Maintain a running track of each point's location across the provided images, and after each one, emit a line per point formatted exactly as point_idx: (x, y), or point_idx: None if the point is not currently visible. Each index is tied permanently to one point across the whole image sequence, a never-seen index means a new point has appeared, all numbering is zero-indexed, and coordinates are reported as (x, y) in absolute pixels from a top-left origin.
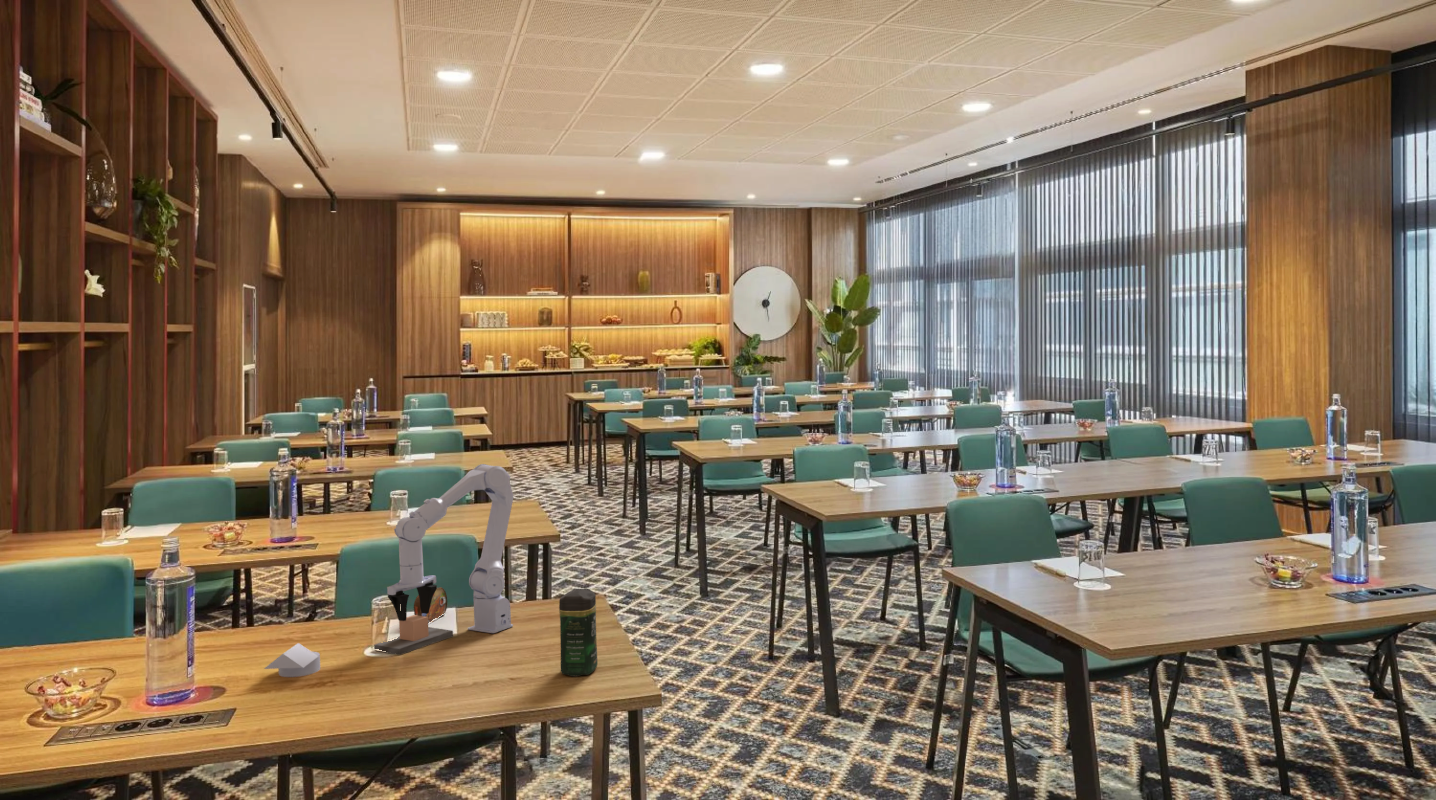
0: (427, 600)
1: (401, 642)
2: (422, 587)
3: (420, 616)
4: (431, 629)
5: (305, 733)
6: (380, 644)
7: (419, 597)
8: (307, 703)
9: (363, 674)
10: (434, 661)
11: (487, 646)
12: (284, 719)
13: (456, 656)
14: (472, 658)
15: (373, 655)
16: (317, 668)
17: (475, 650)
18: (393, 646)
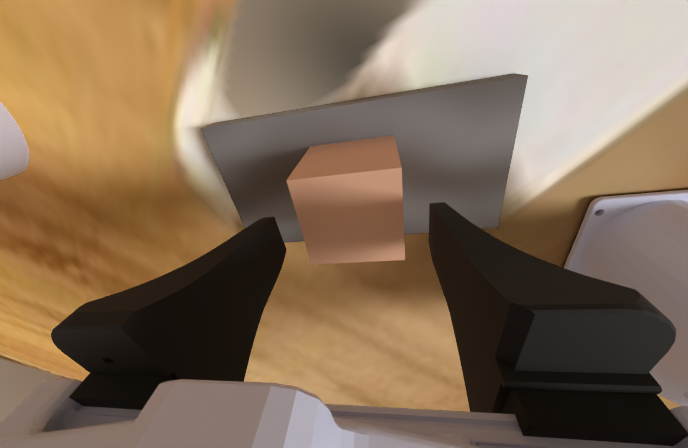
0: (451, 303)
1: (289, 194)
2: (490, 379)
3: (392, 226)
4: (486, 136)
5: (60, 369)
6: (221, 150)
7: (462, 249)
8: (43, 312)
9: (144, 277)
10: (295, 322)
11: (435, 338)
12: (20, 331)
13: (345, 333)
14: (355, 357)
15: (196, 174)
16: (16, 172)
17: (398, 336)
18: (249, 210)
